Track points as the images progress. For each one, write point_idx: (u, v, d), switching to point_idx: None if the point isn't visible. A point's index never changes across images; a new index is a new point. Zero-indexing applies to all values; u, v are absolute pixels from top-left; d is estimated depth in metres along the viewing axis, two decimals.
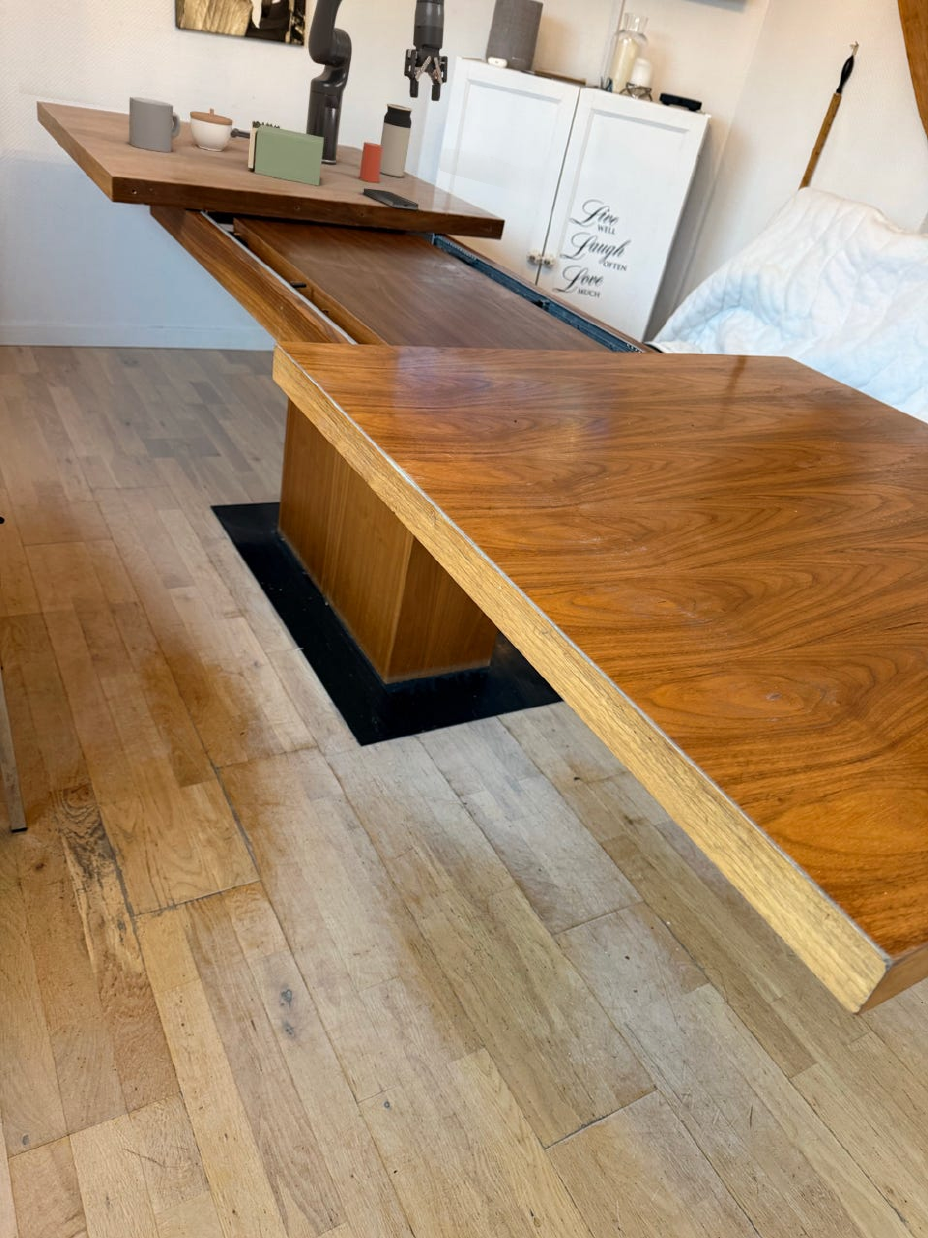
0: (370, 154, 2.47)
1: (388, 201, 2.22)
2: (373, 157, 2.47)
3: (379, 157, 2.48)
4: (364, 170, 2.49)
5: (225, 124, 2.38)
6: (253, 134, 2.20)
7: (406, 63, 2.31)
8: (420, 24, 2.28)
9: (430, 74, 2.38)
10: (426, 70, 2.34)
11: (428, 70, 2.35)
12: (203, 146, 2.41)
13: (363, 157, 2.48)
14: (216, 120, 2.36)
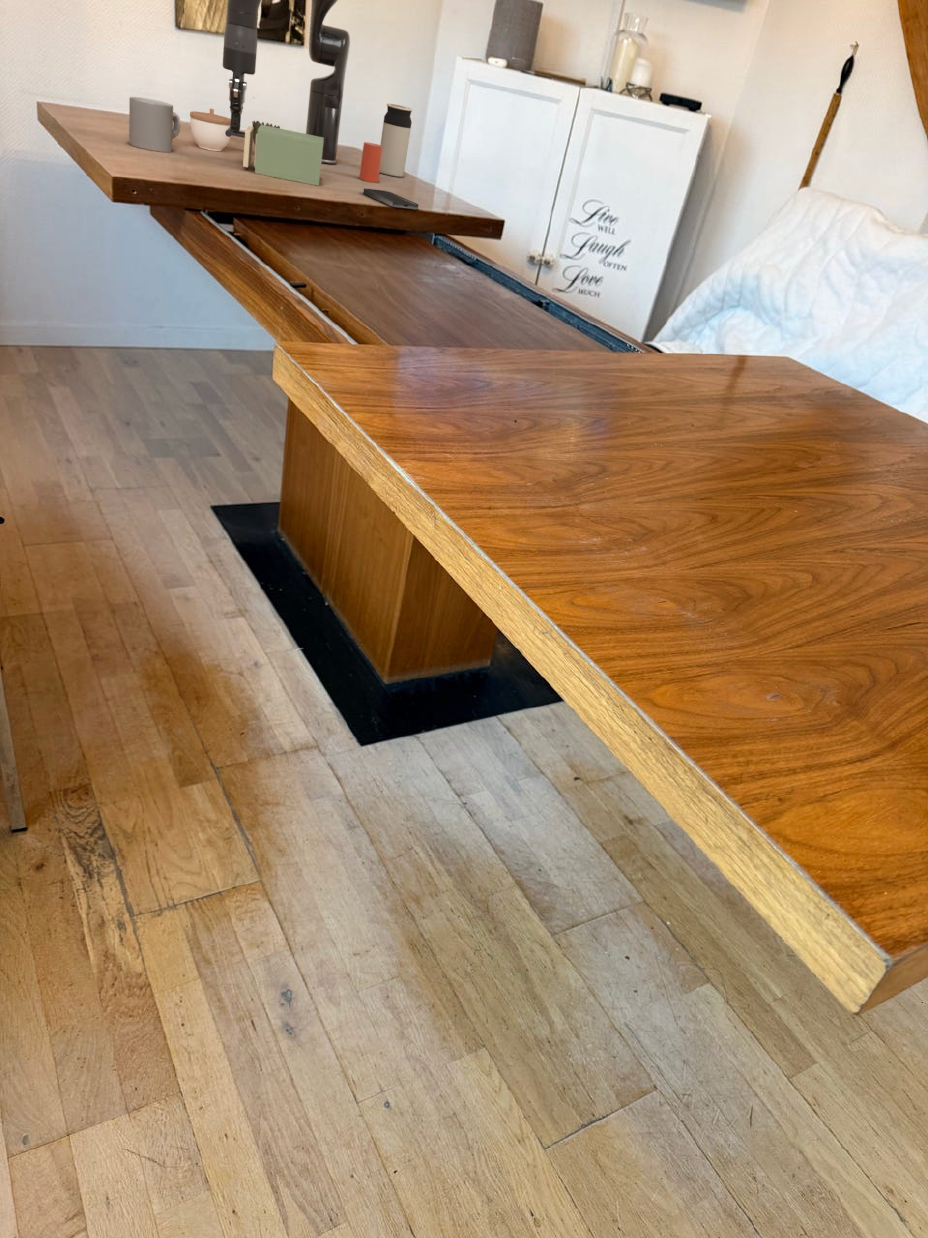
0: (370, 154, 2.47)
1: (388, 201, 2.22)
2: (373, 157, 2.47)
3: (379, 157, 2.48)
4: (364, 170, 2.49)
5: (225, 124, 2.38)
6: (248, 133, 2.19)
7: None
8: None
9: None
10: None
11: None
12: (203, 146, 2.41)
13: (363, 157, 2.48)
14: (216, 120, 2.36)
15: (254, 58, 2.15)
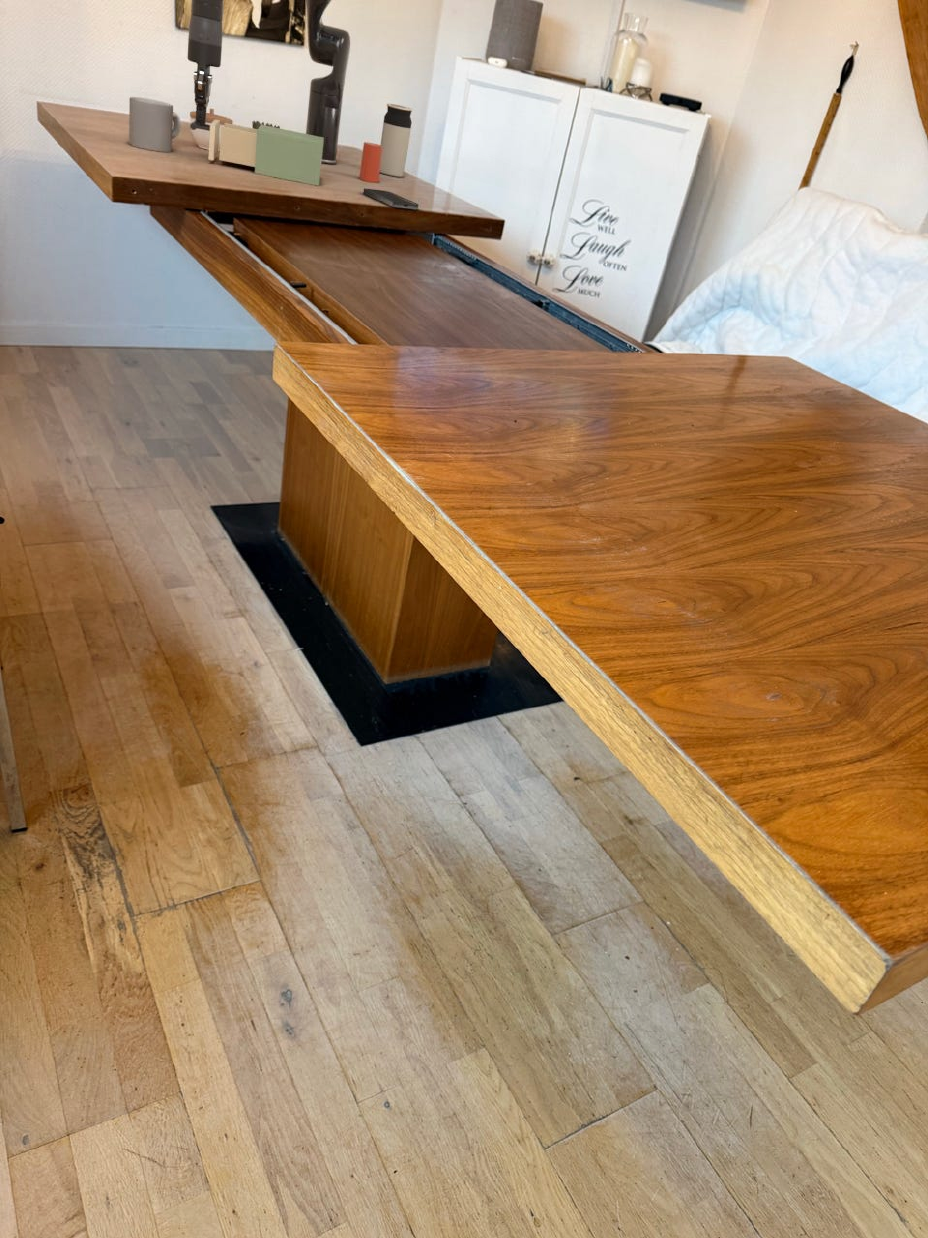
0: (370, 154, 2.47)
1: (388, 201, 2.22)
2: (373, 157, 2.47)
3: (379, 157, 2.48)
4: (364, 170, 2.49)
5: None
6: (213, 126, 2.18)
7: None
8: None
9: None
10: None
11: None
12: (203, 146, 2.41)
13: (363, 157, 2.48)
14: None
15: (219, 50, 2.13)
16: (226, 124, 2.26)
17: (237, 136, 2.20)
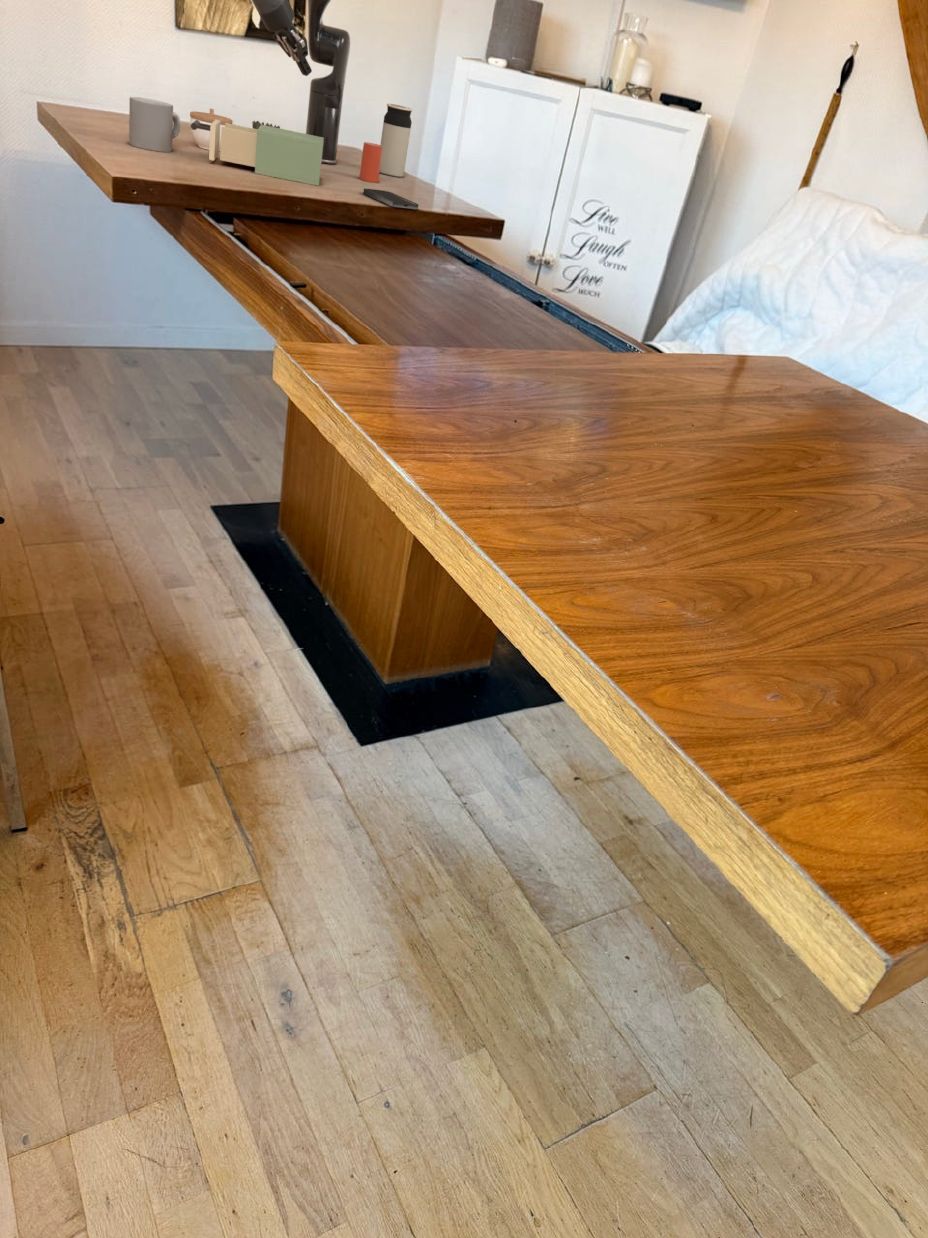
0: (370, 154, 2.47)
1: (388, 201, 2.22)
2: (373, 157, 2.47)
3: (379, 157, 2.48)
4: (364, 170, 2.49)
5: None
6: (213, 126, 2.18)
7: None
8: None
9: None
10: (287, 45, 2.21)
11: None
12: (203, 146, 2.41)
13: (363, 157, 2.48)
14: None
15: None
16: (227, 124, 2.26)
17: (238, 136, 2.20)
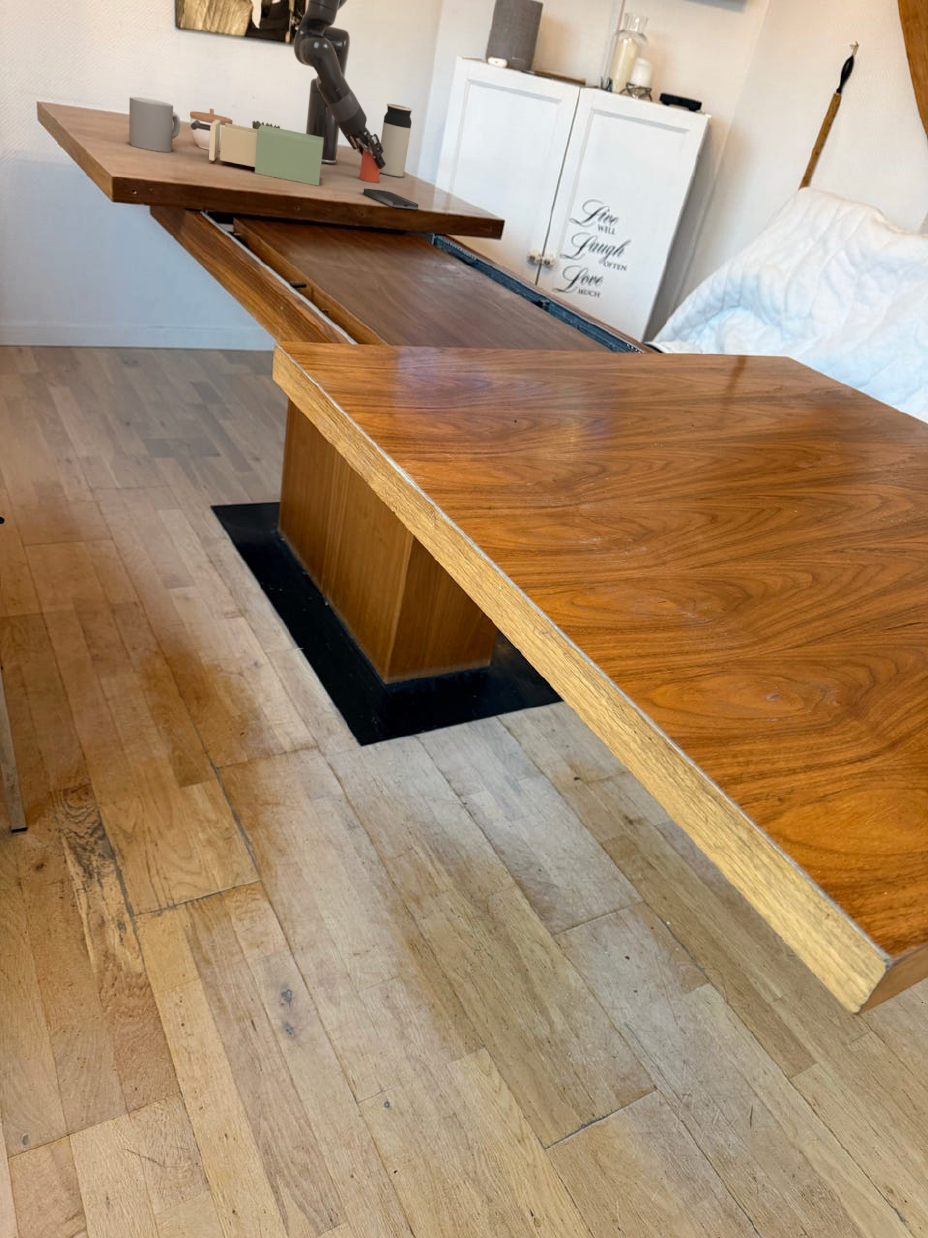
0: None
1: (388, 201, 2.22)
2: None
3: None
4: (364, 170, 2.49)
5: None
6: (213, 126, 2.18)
7: None
8: None
9: None
10: (359, 143, 2.46)
11: (360, 144, 2.46)
12: (203, 146, 2.41)
13: (363, 157, 2.48)
14: None
15: None
16: (227, 124, 2.26)
17: (238, 136, 2.20)
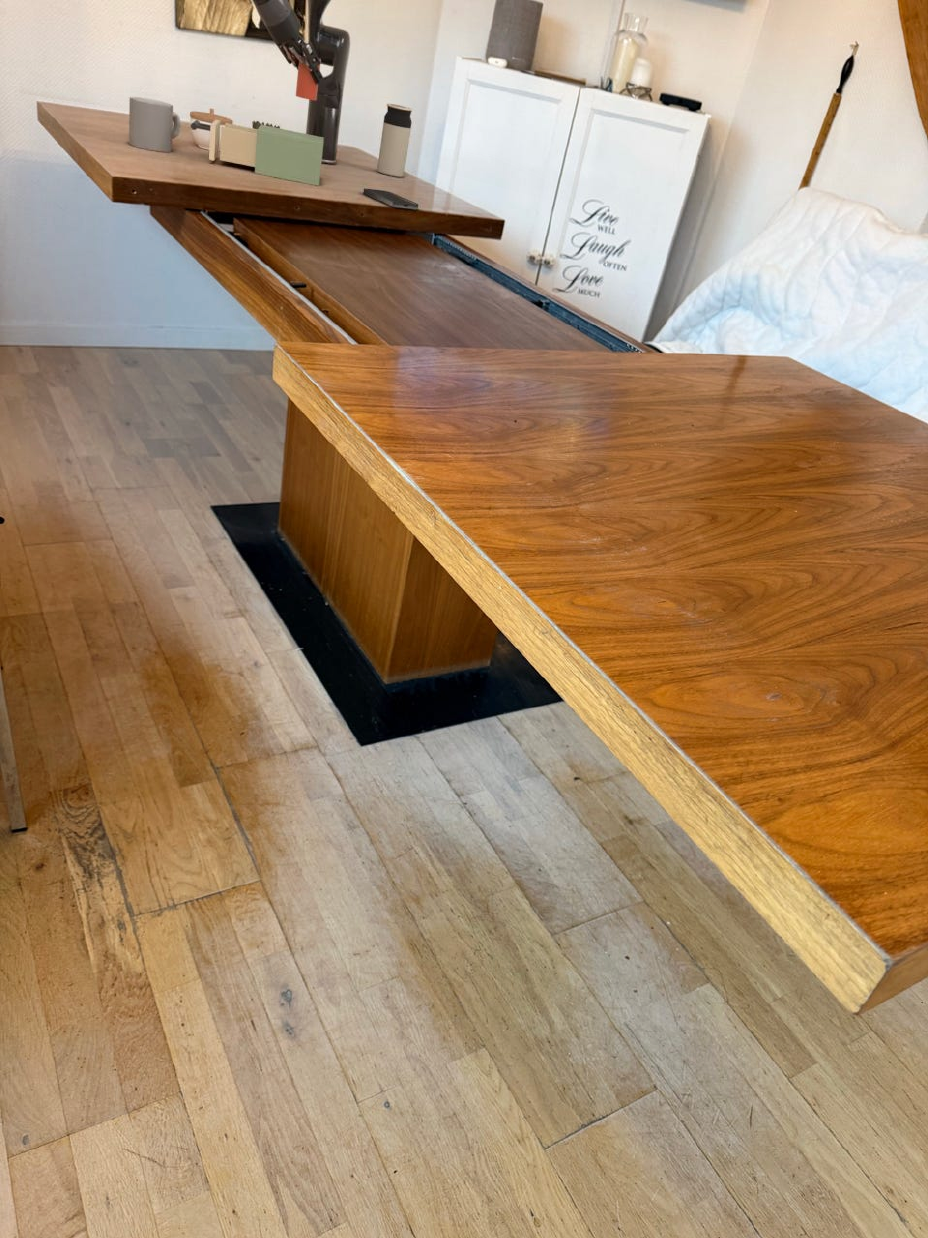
0: None
1: (388, 201, 2.22)
2: None
3: None
4: (300, 86, 2.26)
5: None
6: (213, 126, 2.18)
7: None
8: None
9: None
10: (294, 55, 2.23)
11: (295, 56, 2.23)
12: (203, 146, 2.41)
13: (299, 71, 2.25)
14: None
15: (293, 10, 2.15)
16: (227, 124, 2.26)
17: (238, 136, 2.20)
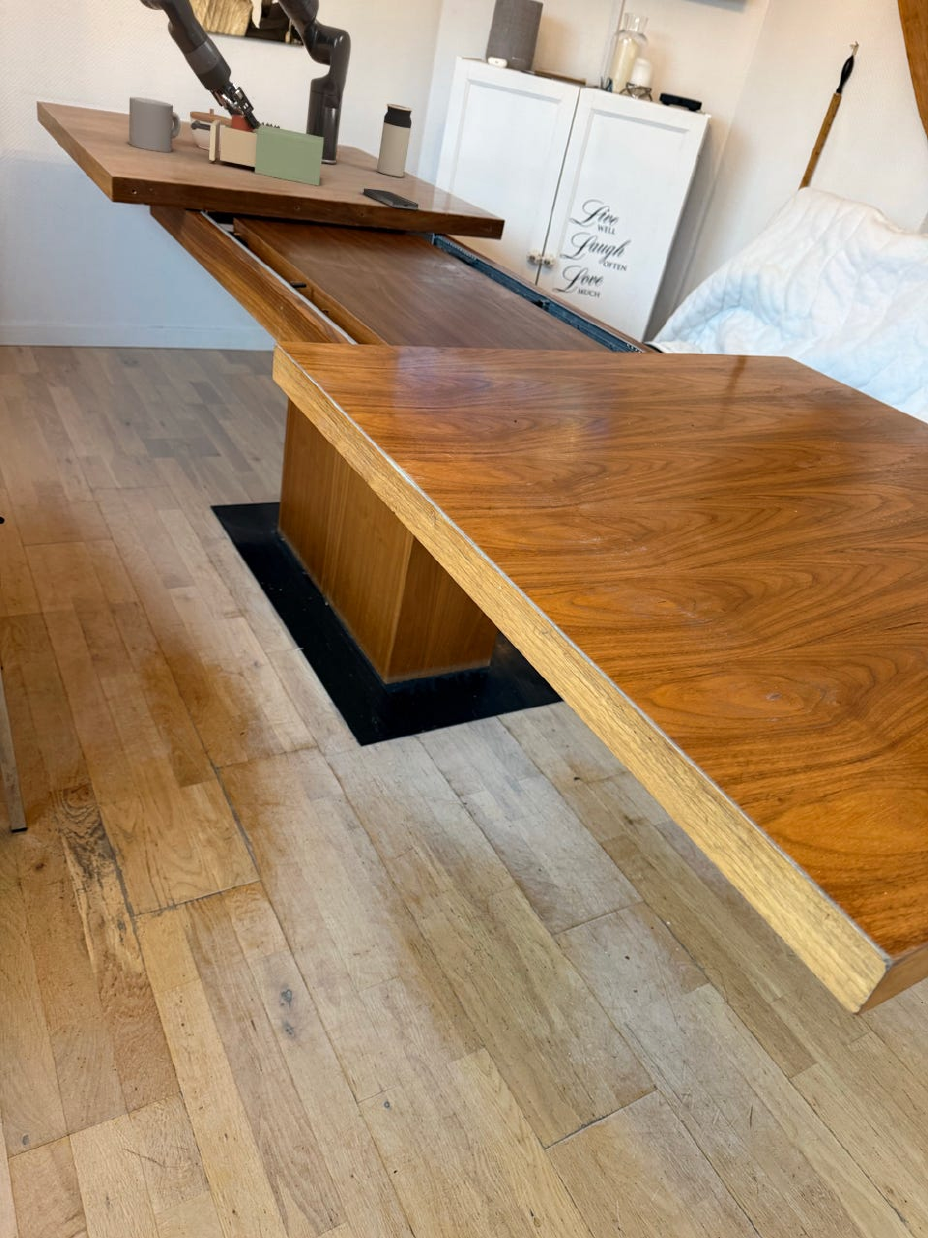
0: (239, 127, 2.21)
1: (388, 201, 2.22)
2: None
3: (249, 131, 2.23)
4: None
5: None
6: (213, 126, 2.18)
7: None
8: None
9: None
10: (226, 101, 2.19)
11: (227, 102, 2.19)
12: (203, 146, 2.41)
13: None
14: None
15: None
16: (227, 124, 2.26)
17: (238, 136, 2.20)
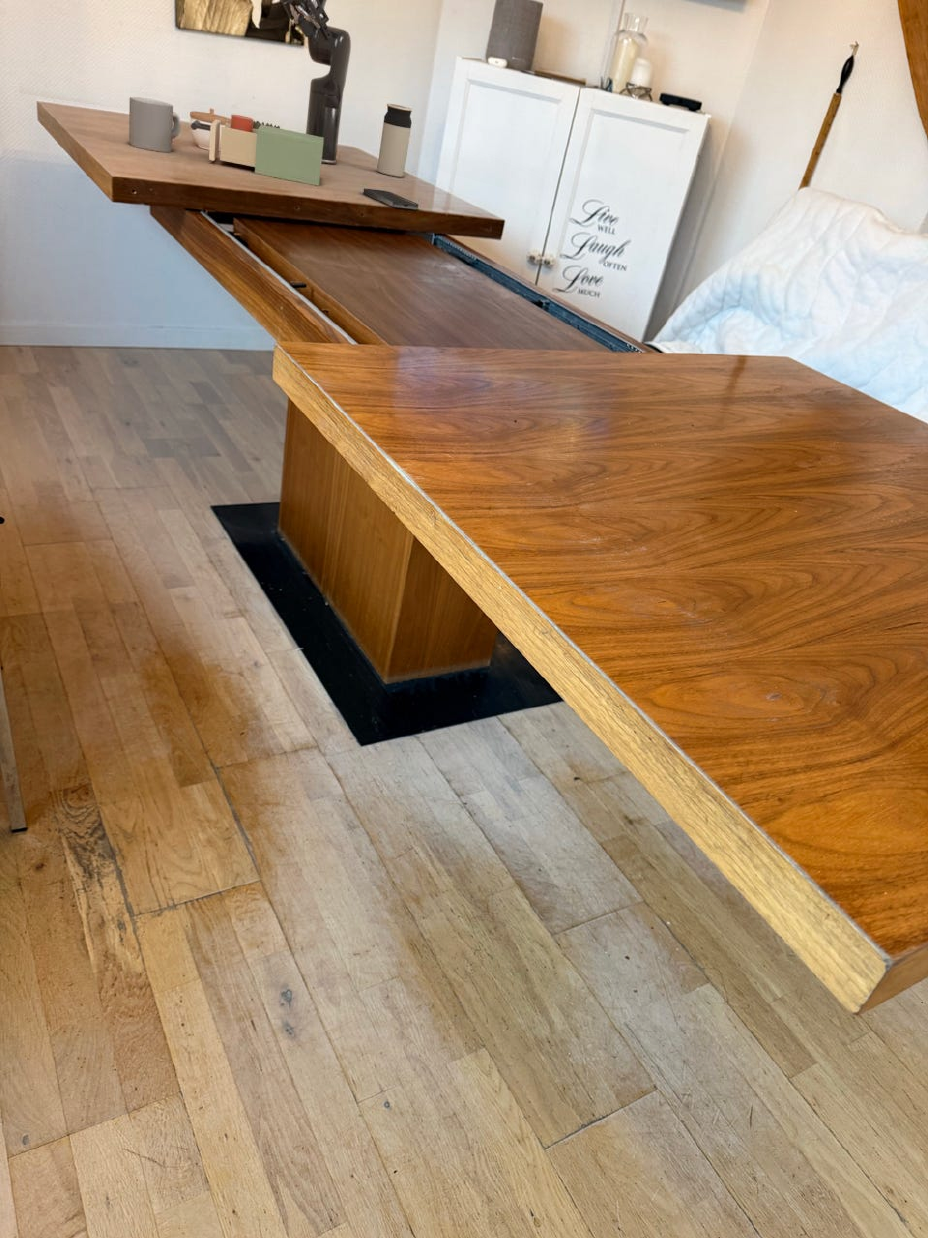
0: (239, 128, 2.21)
1: (388, 201, 2.22)
2: None
3: (249, 131, 2.23)
4: None
5: None
6: (213, 126, 2.18)
7: None
8: None
9: None
10: (300, 14, 2.21)
11: (301, 14, 2.20)
12: (203, 146, 2.41)
13: None
14: None
15: None
16: (227, 124, 2.26)
17: (238, 136, 2.20)
